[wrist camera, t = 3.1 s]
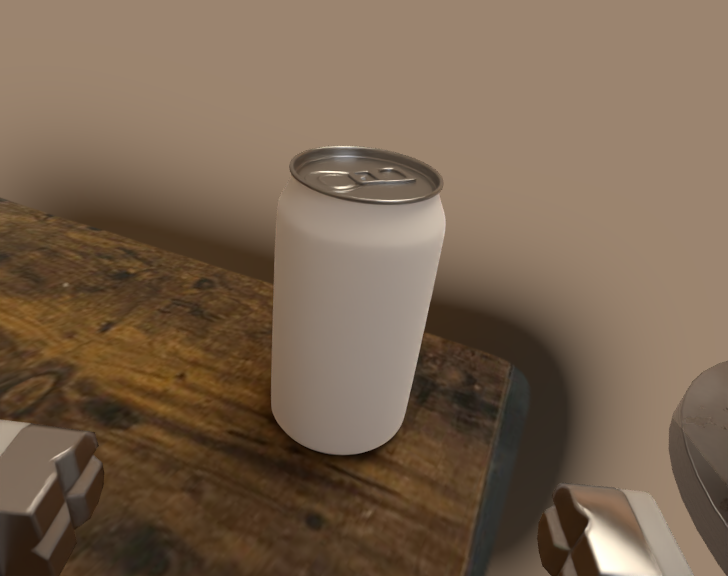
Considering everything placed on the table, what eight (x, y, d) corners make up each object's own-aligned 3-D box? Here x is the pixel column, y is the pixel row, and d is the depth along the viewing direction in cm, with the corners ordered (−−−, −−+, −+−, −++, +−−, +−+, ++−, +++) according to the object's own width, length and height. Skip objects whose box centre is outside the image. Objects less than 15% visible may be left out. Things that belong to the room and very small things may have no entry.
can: (251, 382, 26) (251, 146, 19) (363, 351, 29) (394, 138, 23) (304, 482, 21) (326, 216, 15) (430, 433, 24) (493, 195, 18)
